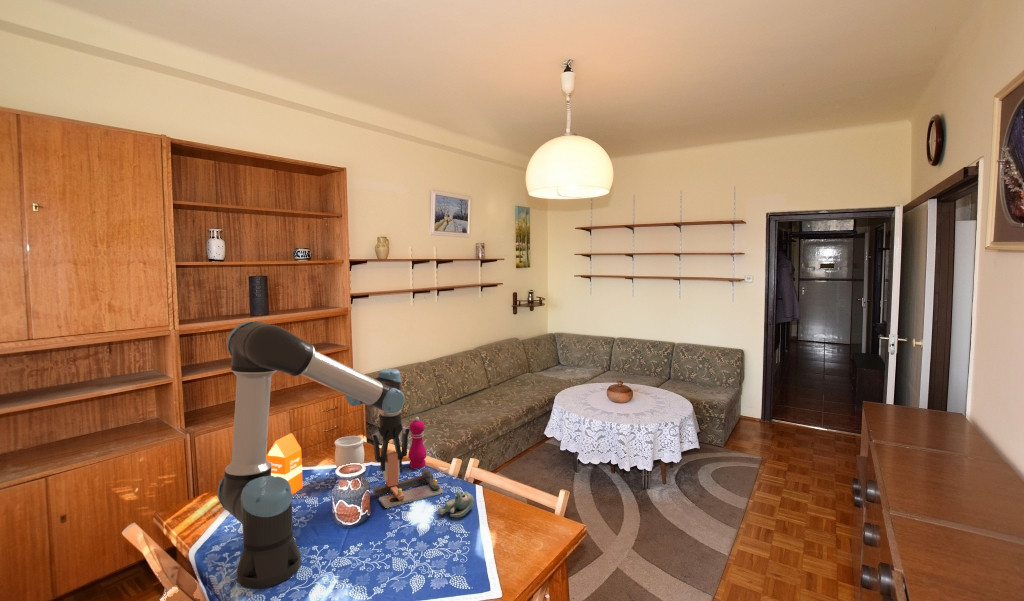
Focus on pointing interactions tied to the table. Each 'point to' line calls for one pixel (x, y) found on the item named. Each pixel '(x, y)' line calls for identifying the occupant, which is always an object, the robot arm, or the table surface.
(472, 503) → the stuffed animal
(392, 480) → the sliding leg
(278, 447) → the orange juice
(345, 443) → the jar
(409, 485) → the rail
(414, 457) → the pepper mill
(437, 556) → the table surface
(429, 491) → the bolt plate
